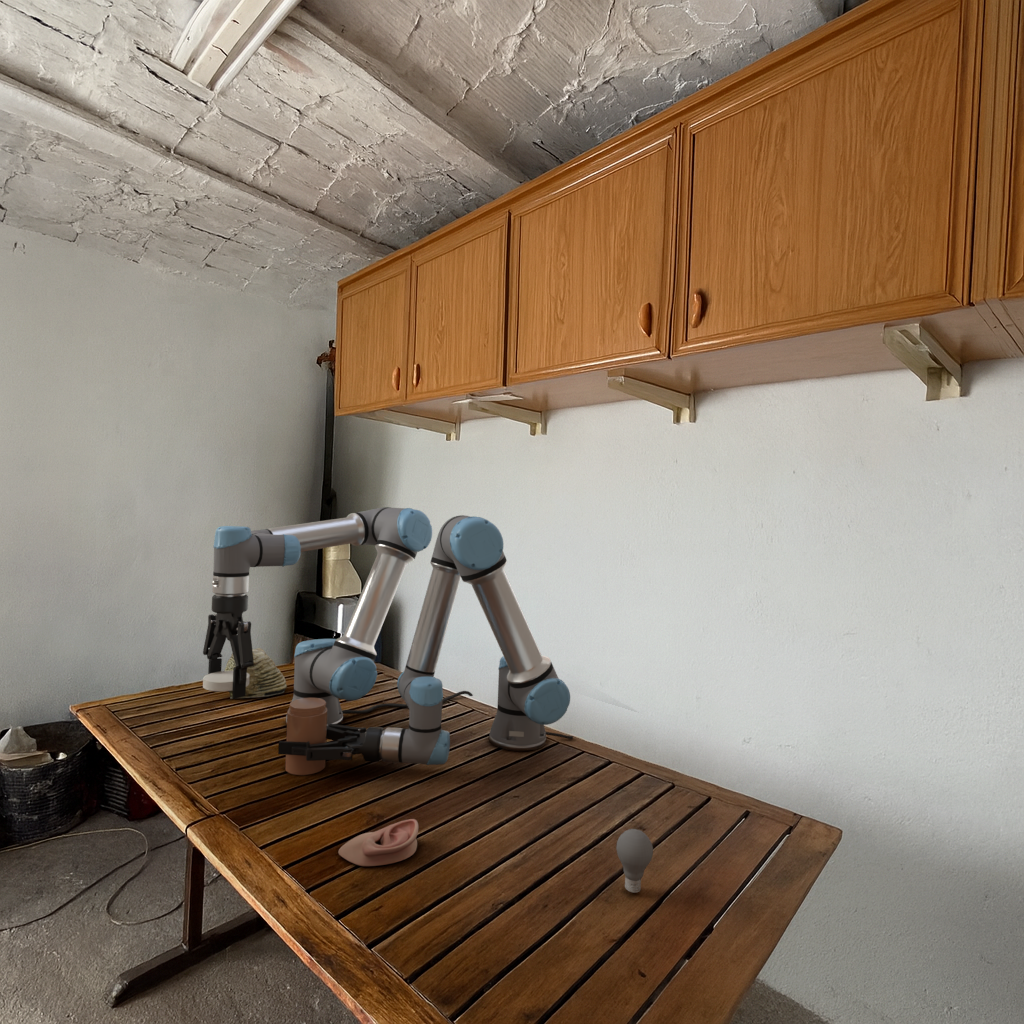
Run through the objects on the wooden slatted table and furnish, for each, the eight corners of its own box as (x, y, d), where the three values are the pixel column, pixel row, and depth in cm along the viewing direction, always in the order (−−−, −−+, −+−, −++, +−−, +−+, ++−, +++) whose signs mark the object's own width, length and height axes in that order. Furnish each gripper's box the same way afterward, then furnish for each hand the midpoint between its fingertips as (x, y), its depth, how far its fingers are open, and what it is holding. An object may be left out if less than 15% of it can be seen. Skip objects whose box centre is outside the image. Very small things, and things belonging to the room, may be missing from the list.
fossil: (218, 695, 195) (220, 647, 195) (278, 685, 208) (279, 640, 207) (228, 703, 189) (230, 653, 188) (289, 692, 201) (290, 645, 201)
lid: (211, 678, 148) (211, 670, 148) (254, 679, 149) (254, 670, 149) (196, 691, 139) (196, 682, 139) (242, 691, 140) (242, 682, 140)
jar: (316, 776, 143) (318, 710, 143) (278, 773, 144) (280, 707, 144) (331, 760, 152) (333, 698, 152) (295, 757, 153) (297, 695, 153)
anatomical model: (330, 838, 110) (359, 807, 121) (329, 861, 110) (358, 828, 121) (402, 850, 107) (425, 817, 119) (401, 873, 108) (424, 838, 119)
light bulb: (610, 879, 108) (613, 822, 108) (644, 879, 109) (647, 822, 109) (619, 902, 102) (622, 840, 102) (655, 901, 103) (658, 840, 103)
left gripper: (188, 589, 147) (184, 685, 148) (242, 602, 134) (237, 707, 134) (219, 587, 153) (216, 678, 154) (273, 598, 140) (269, 699, 141)
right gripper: (370, 781, 137) (267, 775, 137) (392, 742, 158) (303, 737, 159) (372, 746, 137) (268, 741, 137) (393, 712, 158) (304, 708, 159)
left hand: (226, 692), depth 144 cm, fingers closed on lid, 10 cm apart
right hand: (287, 739), depth 148 cm, fingers closed on jar, 9 cm apart
